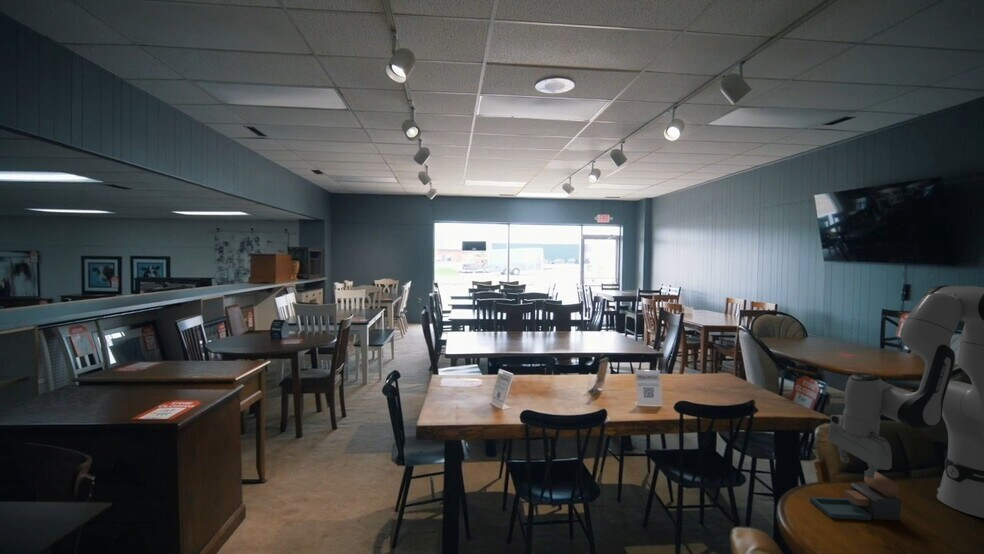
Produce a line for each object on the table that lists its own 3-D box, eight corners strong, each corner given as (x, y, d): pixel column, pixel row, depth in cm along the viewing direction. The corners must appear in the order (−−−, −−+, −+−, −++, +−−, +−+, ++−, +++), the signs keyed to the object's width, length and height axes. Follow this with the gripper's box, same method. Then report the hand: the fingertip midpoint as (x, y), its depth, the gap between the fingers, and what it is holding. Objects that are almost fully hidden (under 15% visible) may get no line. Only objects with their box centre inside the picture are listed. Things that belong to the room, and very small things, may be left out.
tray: (847, 503, 142) (848, 498, 142) (871, 520, 133) (871, 515, 133) (809, 501, 142) (810, 497, 142) (830, 518, 133) (831, 513, 133)
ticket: (872, 497, 140) (873, 491, 140) (886, 506, 135) (887, 500, 135) (844, 496, 140) (844, 490, 140) (856, 505, 135) (857, 499, 135)
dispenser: (874, 503, 142) (877, 469, 142) (899, 520, 133) (902, 483, 133) (849, 502, 142) (852, 468, 142) (872, 519, 133) (875, 482, 133)
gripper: (901, 441, 126) (896, 487, 127) (845, 414, 146) (841, 455, 147) (878, 439, 126) (874, 486, 127) (826, 413, 146) (822, 454, 147)
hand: (856, 469), depth 137 cm, fingers open, 8 cm apart
